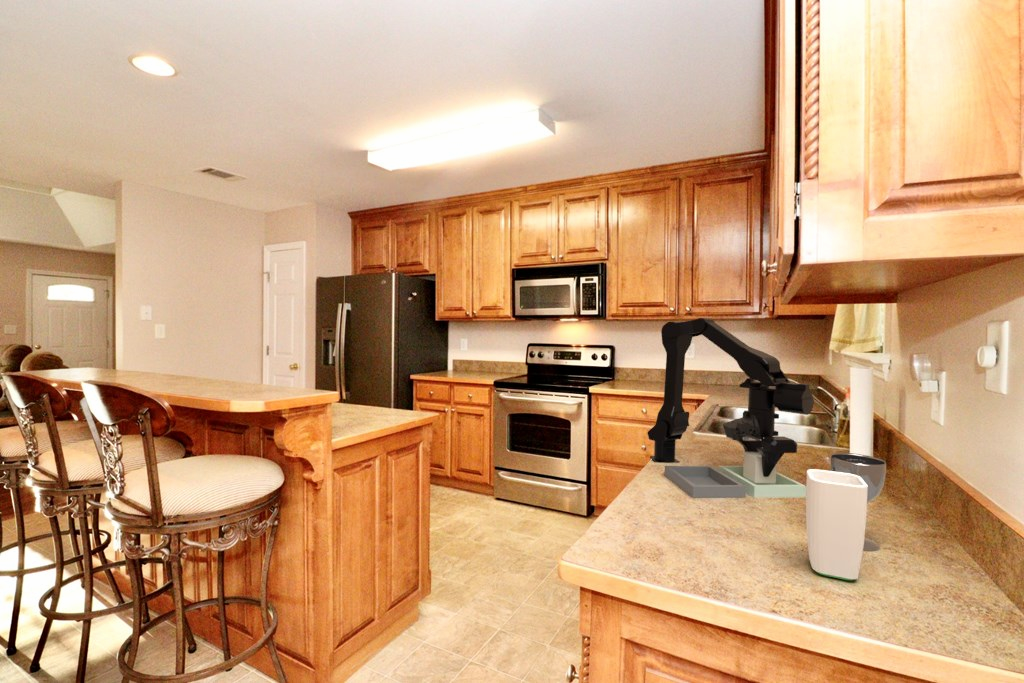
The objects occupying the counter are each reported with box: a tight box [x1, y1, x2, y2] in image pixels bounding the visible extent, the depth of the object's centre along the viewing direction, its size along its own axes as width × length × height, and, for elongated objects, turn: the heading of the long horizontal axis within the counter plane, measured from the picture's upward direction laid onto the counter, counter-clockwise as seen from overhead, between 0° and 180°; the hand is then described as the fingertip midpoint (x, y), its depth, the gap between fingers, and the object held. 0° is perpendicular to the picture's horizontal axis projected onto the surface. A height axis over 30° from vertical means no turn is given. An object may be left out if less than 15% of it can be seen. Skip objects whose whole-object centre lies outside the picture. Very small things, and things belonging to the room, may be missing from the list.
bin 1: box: [664, 465, 747, 499], centre depth 113 cm, size 16×12×3 cm
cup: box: [805, 468, 868, 581], centre depth 74 cm, size 7×7×15 cm
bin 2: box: [717, 465, 806, 499], centre depth 114 cm, size 16×12×3 cm
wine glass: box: [830, 452, 887, 552], centre depth 85 cm, size 8×8×15 cm
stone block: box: [742, 451, 777, 483], centre depth 114 cm, size 5×5×6 cm
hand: (759, 473), depth 114 cm, fingers closed on stone block, 5 cm apart
